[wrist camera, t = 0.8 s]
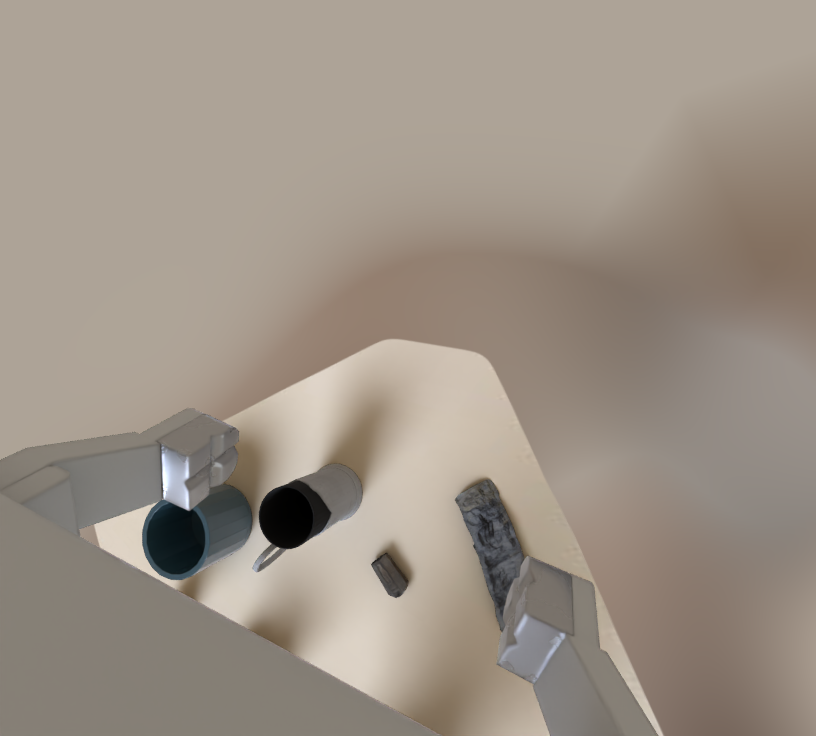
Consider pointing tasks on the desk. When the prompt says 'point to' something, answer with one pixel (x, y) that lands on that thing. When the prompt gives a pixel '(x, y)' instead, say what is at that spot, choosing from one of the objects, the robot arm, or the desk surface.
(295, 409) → the desk surface
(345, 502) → the glass holder
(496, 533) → the grey fabric pouch
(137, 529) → the desk surface
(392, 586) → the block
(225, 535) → the crock
